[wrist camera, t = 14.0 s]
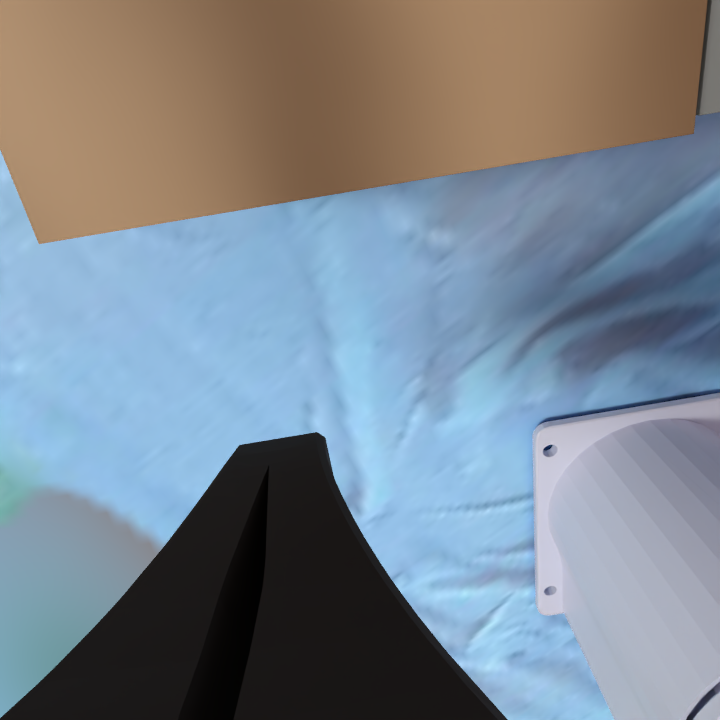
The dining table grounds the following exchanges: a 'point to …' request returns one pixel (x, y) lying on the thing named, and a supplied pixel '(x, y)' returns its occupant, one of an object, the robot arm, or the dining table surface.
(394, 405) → the dining table surface
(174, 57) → the housing
